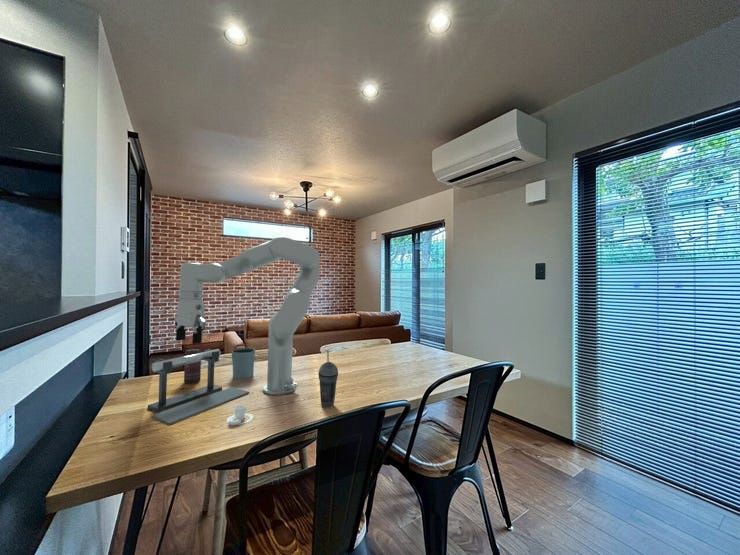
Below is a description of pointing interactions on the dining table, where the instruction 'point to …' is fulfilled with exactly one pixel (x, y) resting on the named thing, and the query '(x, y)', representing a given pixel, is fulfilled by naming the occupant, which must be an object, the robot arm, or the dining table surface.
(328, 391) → the beverage cup
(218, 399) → the rubber mat
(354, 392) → the dining table surface
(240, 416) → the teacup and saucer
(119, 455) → the dining table surface
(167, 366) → the hook stands
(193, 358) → the steel rail
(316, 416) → the dining table surface
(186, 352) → the can
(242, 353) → the teal tapered cup
